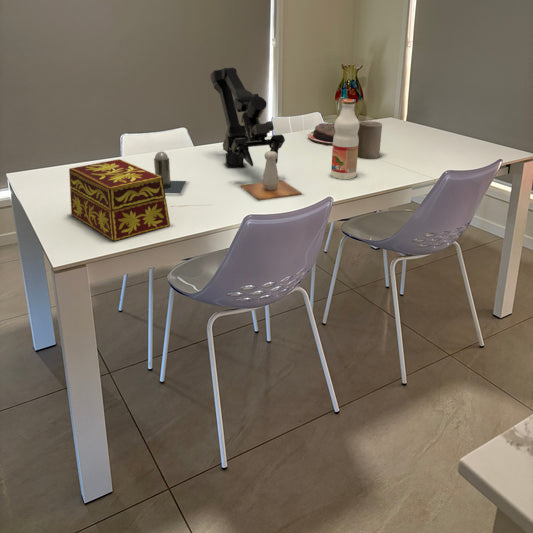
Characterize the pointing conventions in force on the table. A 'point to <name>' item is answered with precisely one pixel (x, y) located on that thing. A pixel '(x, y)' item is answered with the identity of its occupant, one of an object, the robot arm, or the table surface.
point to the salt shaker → (270, 171)
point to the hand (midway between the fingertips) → (264, 164)
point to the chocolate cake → (323, 133)
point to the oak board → (262, 194)
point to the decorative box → (118, 198)
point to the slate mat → (175, 187)
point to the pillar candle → (369, 139)
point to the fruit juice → (345, 142)
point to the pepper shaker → (163, 168)
